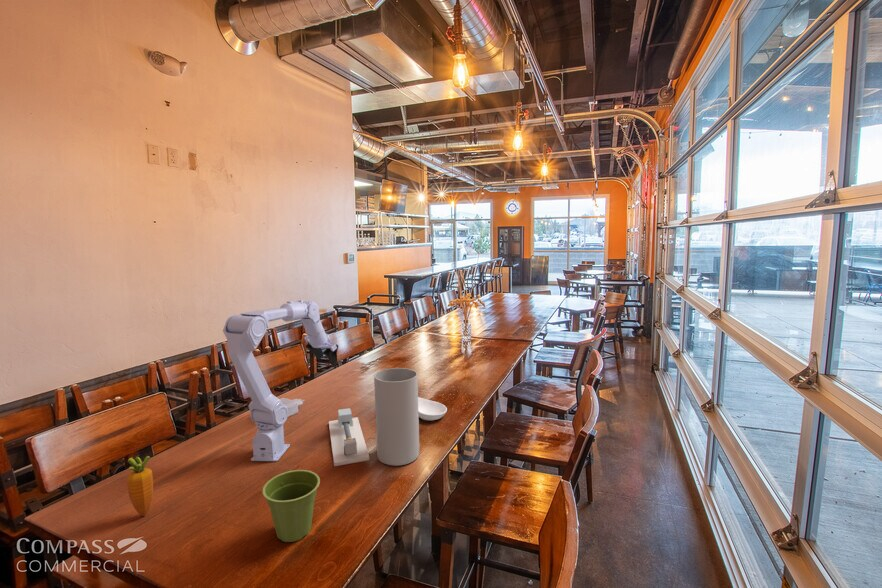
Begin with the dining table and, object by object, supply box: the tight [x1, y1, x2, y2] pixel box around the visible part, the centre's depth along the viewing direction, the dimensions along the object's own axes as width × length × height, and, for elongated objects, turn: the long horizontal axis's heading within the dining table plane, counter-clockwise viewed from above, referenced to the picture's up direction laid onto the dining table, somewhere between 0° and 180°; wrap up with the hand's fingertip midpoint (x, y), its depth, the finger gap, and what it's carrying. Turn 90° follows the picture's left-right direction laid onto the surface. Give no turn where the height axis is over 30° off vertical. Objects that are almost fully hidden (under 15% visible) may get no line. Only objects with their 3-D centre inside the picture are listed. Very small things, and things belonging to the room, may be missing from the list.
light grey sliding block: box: [337, 408, 353, 428], centre depth 138 cm, size 5×4×4 cm
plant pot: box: [262, 469, 321, 543], centre depth 92 cm, size 12×12×11 cm
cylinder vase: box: [373, 367, 420, 467], centre depth 122 cm, size 12×12×25 cm
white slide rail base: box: [328, 416, 370, 467], centre depth 134 cm, size 29×10×6 cm, turn 18°
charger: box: [279, 397, 305, 418], centre depth 157 cm, size 5×9×15 cm
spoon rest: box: [418, 396, 448, 422], centre depth 152 cm, size 24×12×7 cm, turn 68°
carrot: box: [126, 455, 154, 517], centre depth 97 cm, size 5×5×15 cm
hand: (327, 360), depth 151 cm, fingers open, 7 cm apart
